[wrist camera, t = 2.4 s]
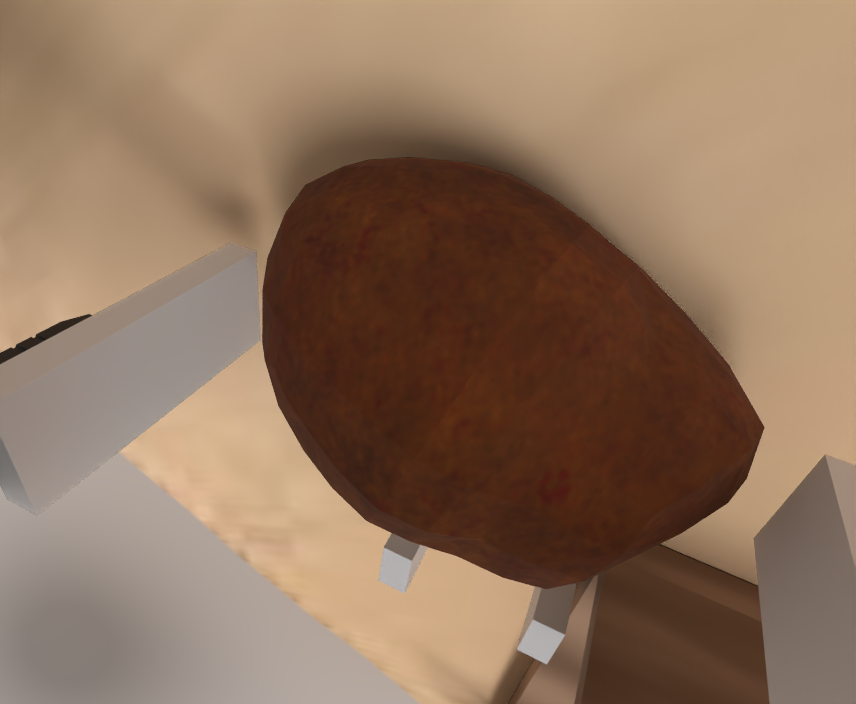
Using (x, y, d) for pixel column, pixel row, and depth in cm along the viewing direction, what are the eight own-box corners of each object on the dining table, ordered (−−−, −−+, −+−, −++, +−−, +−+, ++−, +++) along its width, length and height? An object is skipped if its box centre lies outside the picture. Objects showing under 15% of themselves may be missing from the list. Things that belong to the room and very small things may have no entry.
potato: (623, 494, 17) (576, 774, 11) (324, 289, 18) (123, 452, 12) (842, 332, 12) (971, 681, 6) (418, 54, 13) (150, 123, 7)
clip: (428, 466, 20) (384, 544, 17) (588, 536, 19) (567, 631, 16) (420, 506, 22) (378, 583, 19) (567, 573, 20) (545, 667, 17)
